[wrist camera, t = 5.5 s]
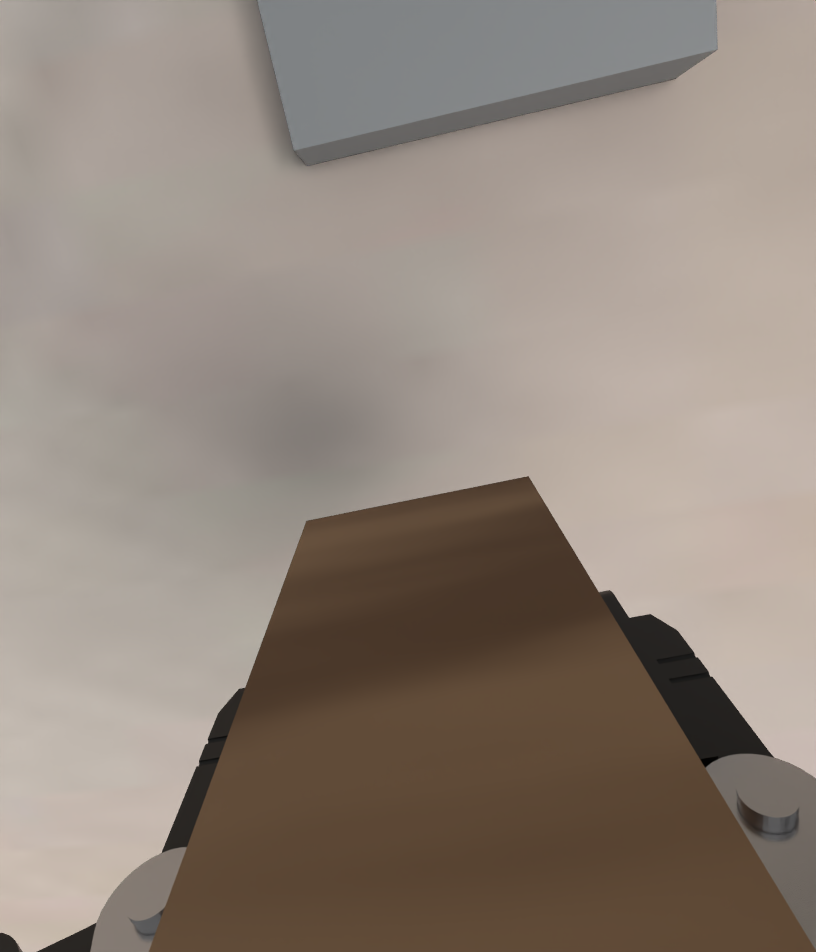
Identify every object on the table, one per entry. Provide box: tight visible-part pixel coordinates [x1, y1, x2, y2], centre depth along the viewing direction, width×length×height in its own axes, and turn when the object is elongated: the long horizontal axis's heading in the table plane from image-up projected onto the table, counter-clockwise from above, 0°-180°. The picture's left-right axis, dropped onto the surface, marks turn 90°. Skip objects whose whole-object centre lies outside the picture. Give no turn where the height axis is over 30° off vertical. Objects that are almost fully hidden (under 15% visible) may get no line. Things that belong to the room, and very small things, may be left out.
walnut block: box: [149, 476, 816, 952], centre depth 7 cm, size 4×4×11 cm
